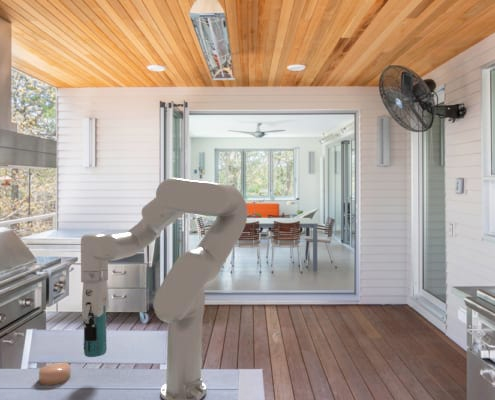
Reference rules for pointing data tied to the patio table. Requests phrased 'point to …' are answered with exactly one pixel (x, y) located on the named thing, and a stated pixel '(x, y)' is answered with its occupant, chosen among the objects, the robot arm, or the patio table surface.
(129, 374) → the patio table surface
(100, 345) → the beverage bottle
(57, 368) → the tan rounded flat piece
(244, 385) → the patio table surface
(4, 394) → the patio table surface
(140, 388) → the patio table surface
